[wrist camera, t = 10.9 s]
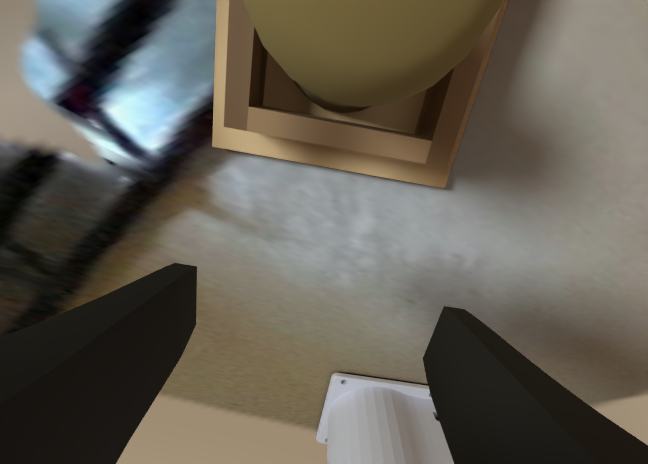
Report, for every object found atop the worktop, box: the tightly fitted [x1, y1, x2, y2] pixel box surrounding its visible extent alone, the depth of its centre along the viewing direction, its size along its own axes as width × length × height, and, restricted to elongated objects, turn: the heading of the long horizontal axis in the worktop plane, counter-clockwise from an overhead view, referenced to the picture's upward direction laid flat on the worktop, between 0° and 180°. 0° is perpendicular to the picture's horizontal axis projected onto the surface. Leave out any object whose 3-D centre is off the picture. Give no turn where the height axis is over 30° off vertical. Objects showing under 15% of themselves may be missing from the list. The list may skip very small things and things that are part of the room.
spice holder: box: [212, 0, 509, 188], centre depth 13 cm, size 13×13×4 cm
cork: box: [243, 0, 503, 113], centre depth 9 cm, size 6×6×11 cm
